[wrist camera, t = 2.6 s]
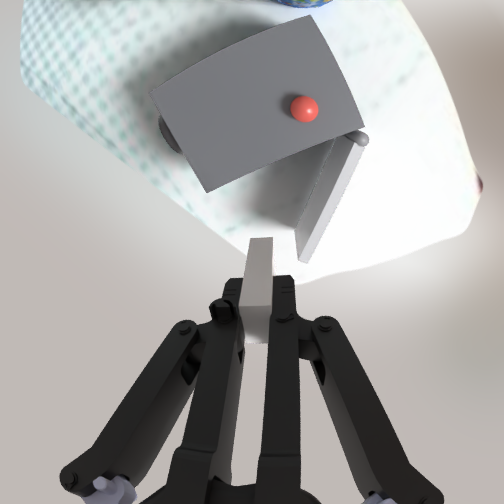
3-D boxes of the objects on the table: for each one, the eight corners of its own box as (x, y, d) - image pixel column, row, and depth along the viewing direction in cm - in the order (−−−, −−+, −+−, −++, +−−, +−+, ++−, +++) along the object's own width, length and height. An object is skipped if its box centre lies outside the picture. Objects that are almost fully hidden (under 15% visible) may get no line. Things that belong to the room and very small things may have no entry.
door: (293, 230, 31) (296, 260, 26) (341, 122, 24) (358, 130, 19) (307, 235, 31) (313, 265, 26) (356, 129, 24) (376, 139, 19)
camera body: (166, 99, 24) (131, 102, 18) (301, 33, 20) (311, 11, 13) (210, 176, 29) (190, 203, 22) (343, 119, 24) (368, 128, 18)
